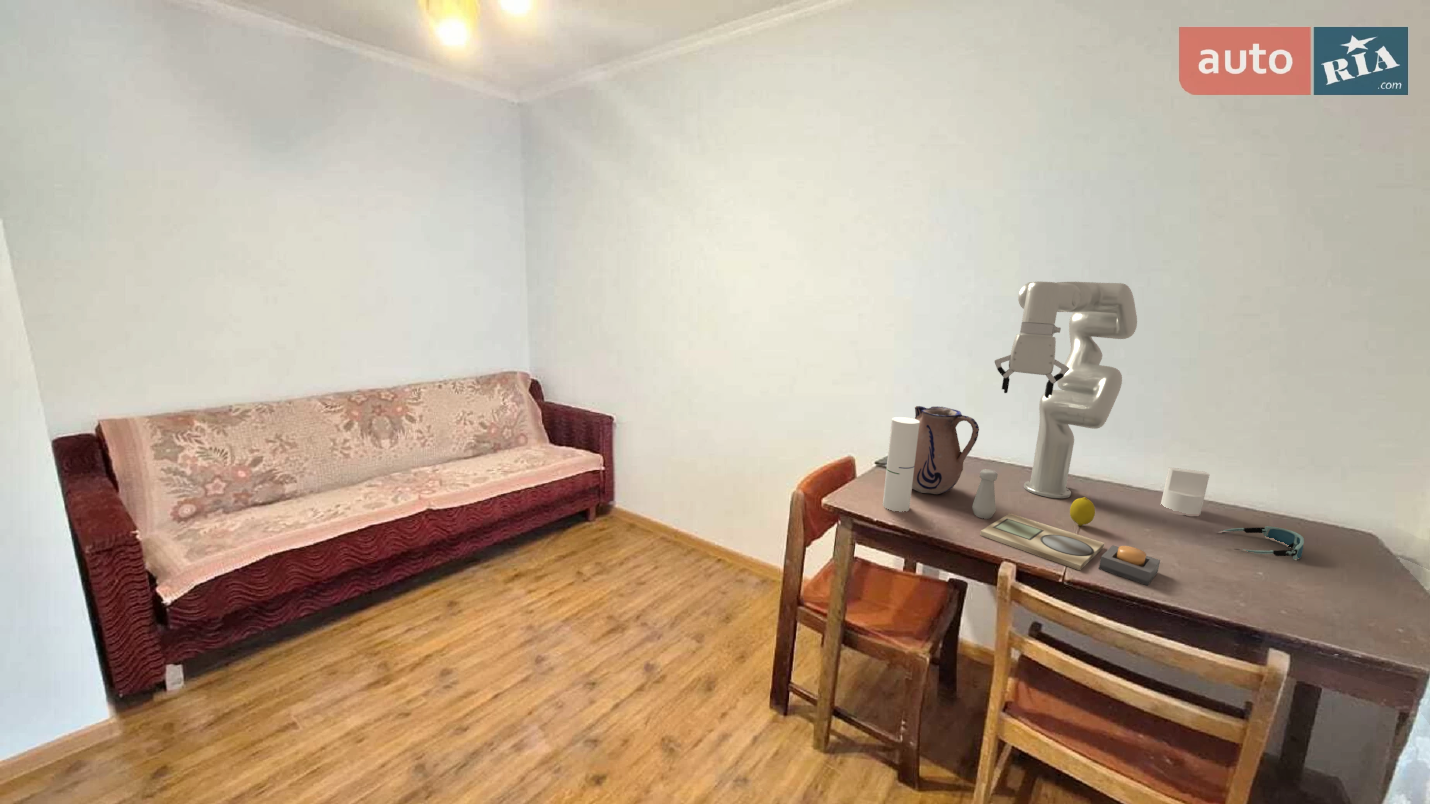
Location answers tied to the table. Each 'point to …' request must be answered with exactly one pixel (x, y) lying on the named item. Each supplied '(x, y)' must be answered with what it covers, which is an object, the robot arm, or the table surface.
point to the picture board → (1043, 540)
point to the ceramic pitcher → (939, 449)
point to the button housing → (1129, 567)
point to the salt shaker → (985, 495)
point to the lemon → (1082, 511)
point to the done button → (1131, 555)
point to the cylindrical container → (900, 463)
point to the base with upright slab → (1185, 490)
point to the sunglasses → (1280, 535)
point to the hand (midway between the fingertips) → (1025, 394)
